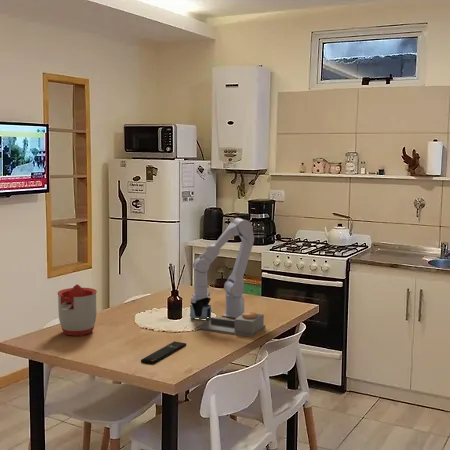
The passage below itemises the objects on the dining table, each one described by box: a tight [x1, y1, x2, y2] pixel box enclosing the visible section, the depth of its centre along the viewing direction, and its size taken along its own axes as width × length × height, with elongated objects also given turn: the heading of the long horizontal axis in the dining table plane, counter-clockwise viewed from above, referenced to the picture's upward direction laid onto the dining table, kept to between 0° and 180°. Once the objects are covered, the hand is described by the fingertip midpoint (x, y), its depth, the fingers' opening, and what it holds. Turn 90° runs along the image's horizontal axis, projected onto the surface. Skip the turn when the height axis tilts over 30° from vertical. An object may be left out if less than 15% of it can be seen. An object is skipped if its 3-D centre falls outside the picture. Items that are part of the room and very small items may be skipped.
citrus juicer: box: [57, 284, 98, 337], centre depth 253 cm, size 16×17×20 cm
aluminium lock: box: [189, 304, 212, 320], centre depth 277 cm, size 5×8×7 cm, turn 65°
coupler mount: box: [195, 311, 266, 338], centre depth 263 cm, size 16×25×7 cm, turn 64°
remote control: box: [140, 341, 187, 365], centre depth 230 cm, size 5×24×1 cm, turn 154°
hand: (200, 315), depth 277 cm, fingers closed on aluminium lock, 5 cm apart
